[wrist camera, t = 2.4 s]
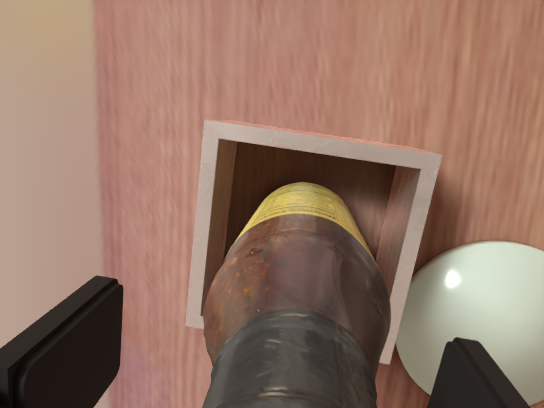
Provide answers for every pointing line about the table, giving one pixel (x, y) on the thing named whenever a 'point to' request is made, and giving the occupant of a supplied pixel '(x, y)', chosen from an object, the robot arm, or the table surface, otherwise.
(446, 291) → the saucer
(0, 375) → the robot arm
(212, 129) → the square storage bin
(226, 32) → the table surface
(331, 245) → the sauce bottle
